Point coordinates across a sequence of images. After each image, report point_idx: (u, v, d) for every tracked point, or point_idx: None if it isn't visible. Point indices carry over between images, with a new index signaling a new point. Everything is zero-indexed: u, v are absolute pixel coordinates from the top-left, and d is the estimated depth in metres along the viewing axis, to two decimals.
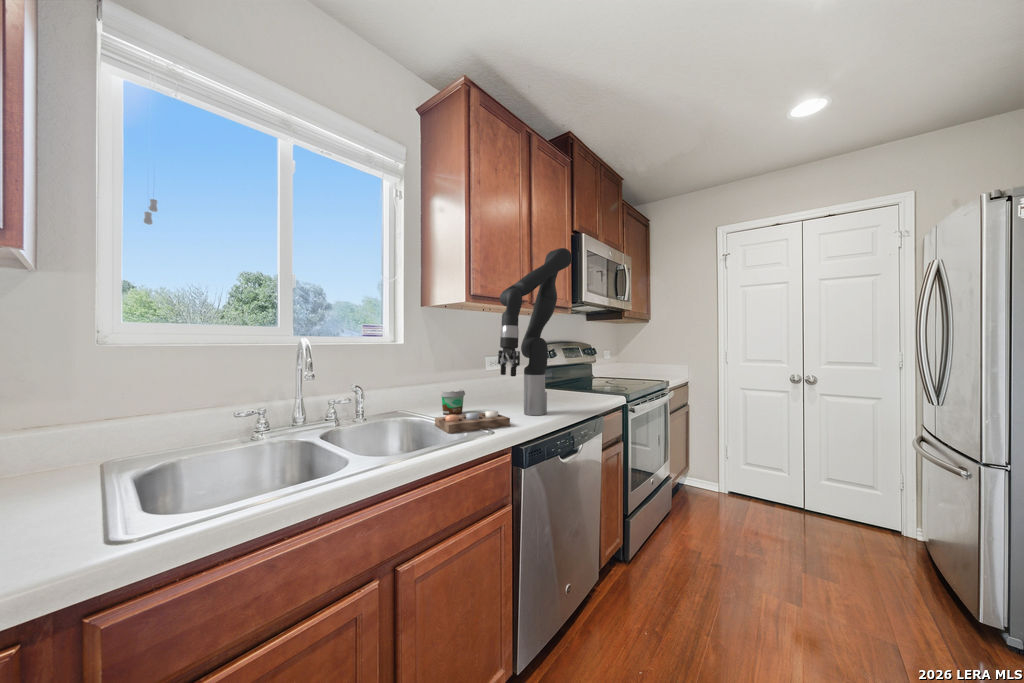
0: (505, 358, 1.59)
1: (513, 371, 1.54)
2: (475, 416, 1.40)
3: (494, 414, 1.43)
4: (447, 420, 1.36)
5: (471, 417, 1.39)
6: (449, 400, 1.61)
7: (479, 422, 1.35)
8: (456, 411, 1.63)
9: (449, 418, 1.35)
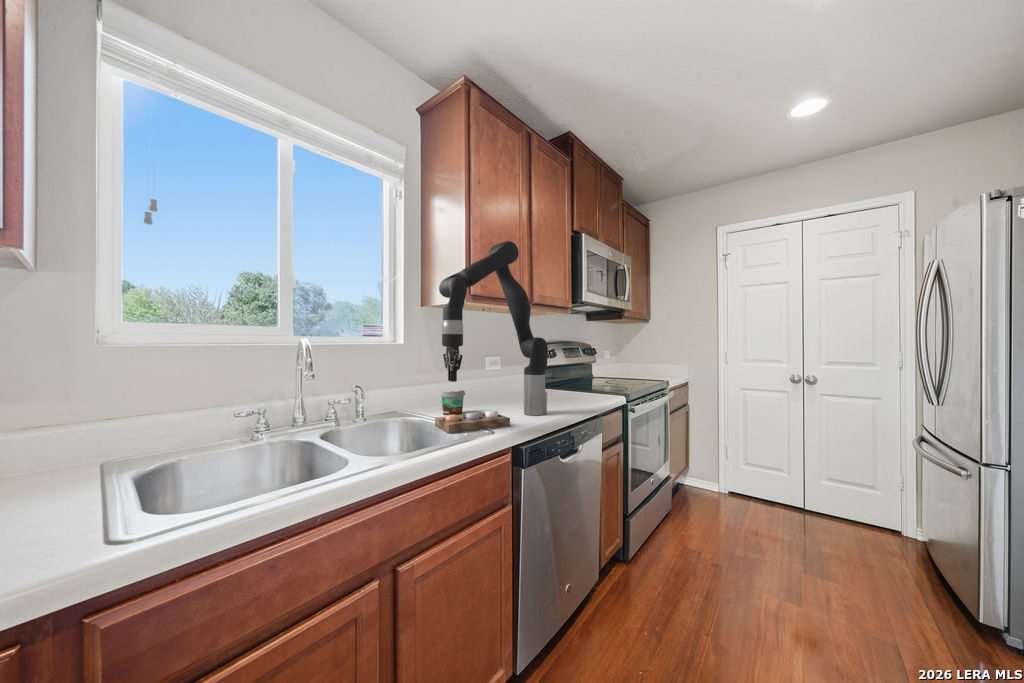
0: None
1: (453, 376, 1.35)
2: (475, 416, 1.40)
3: (494, 414, 1.43)
4: (447, 420, 1.36)
5: (471, 417, 1.39)
6: (449, 400, 1.61)
7: (479, 422, 1.35)
8: (456, 411, 1.63)
9: (449, 418, 1.35)
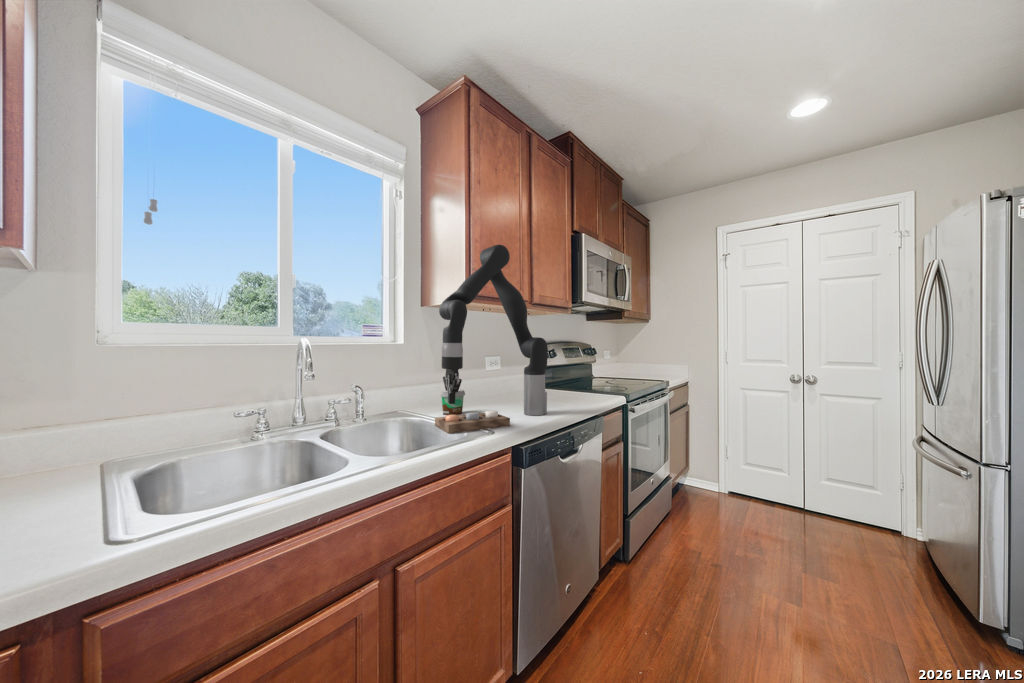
0: None
1: (451, 398, 1.36)
2: (475, 416, 1.40)
3: (494, 414, 1.43)
4: (447, 420, 1.36)
5: (471, 417, 1.39)
6: None
7: (479, 422, 1.35)
8: (456, 411, 1.63)
9: (449, 418, 1.35)
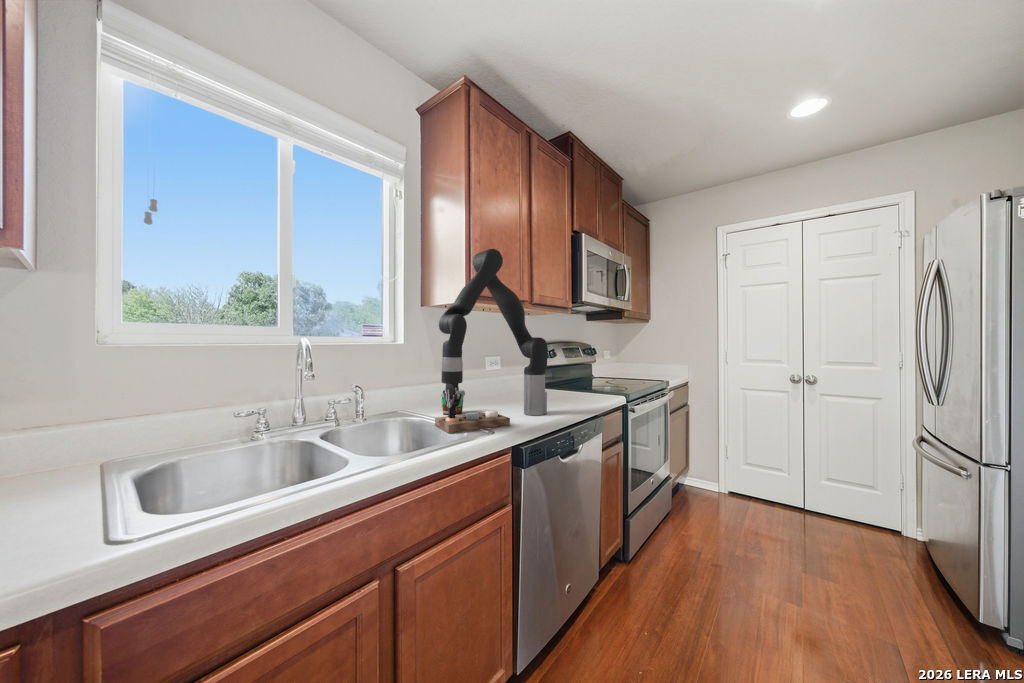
0: None
1: (451, 413, 1.36)
2: (475, 416, 1.40)
3: (494, 414, 1.43)
4: None
5: (471, 417, 1.39)
6: None
7: (479, 422, 1.35)
8: (456, 411, 1.63)
9: (449, 420, 1.35)
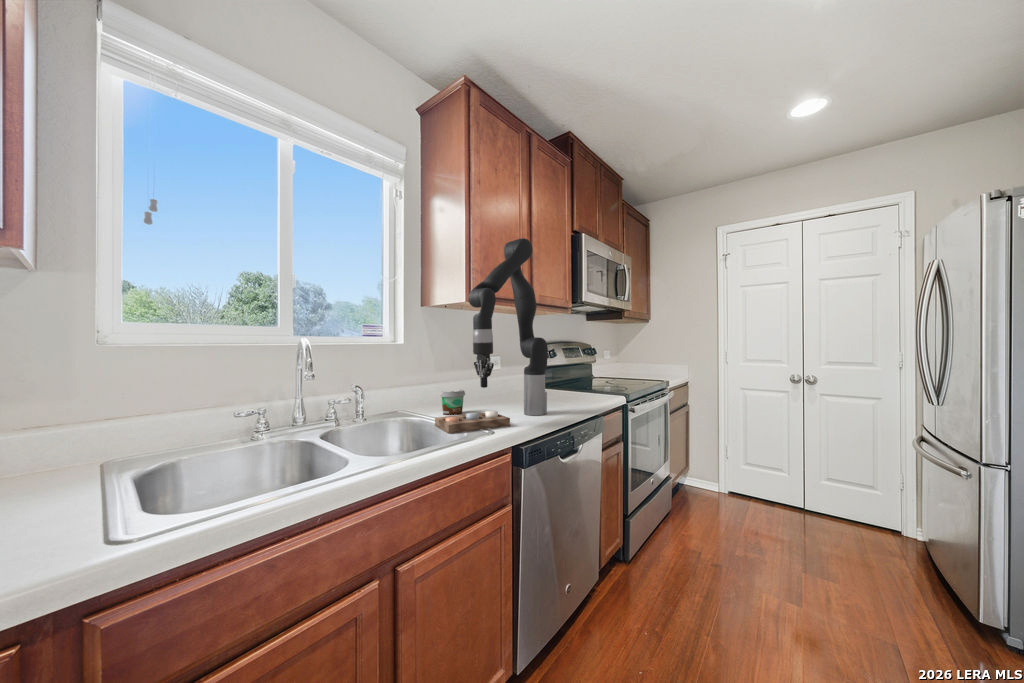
0: None
1: (484, 382, 1.43)
2: (475, 416, 1.40)
3: (494, 414, 1.43)
4: None
5: (471, 417, 1.39)
6: (449, 400, 1.61)
7: (479, 422, 1.35)
8: (456, 411, 1.63)
9: (449, 420, 1.35)
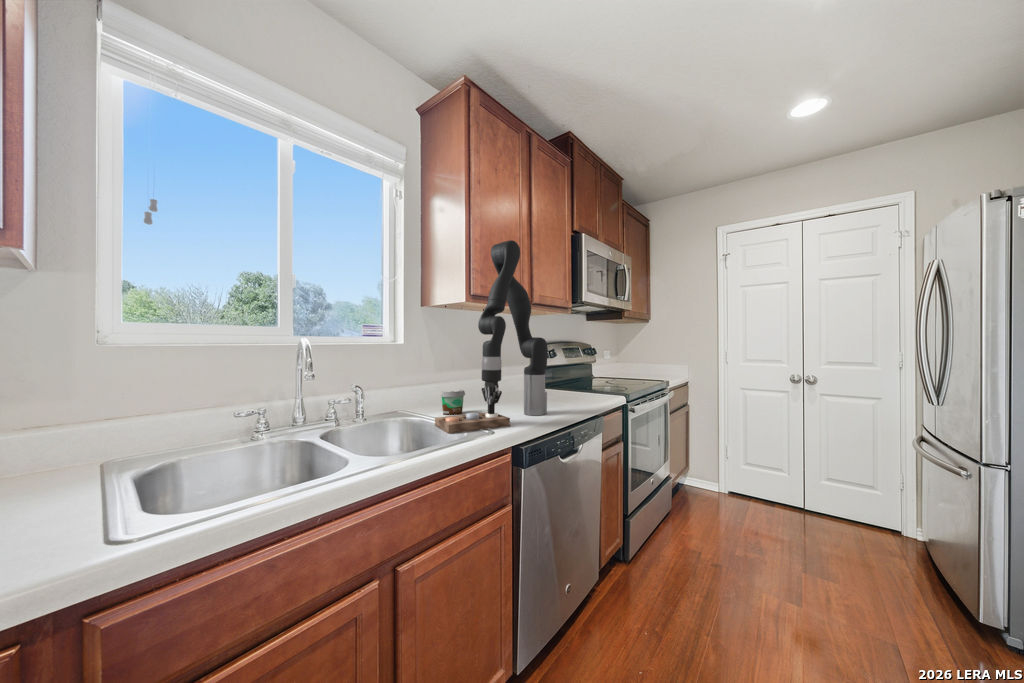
0: None
1: (491, 409, 1.44)
2: (475, 416, 1.40)
3: (494, 415, 1.43)
4: None
5: (471, 417, 1.39)
6: (449, 400, 1.61)
7: (479, 422, 1.35)
8: (456, 411, 1.63)
9: (449, 420, 1.35)
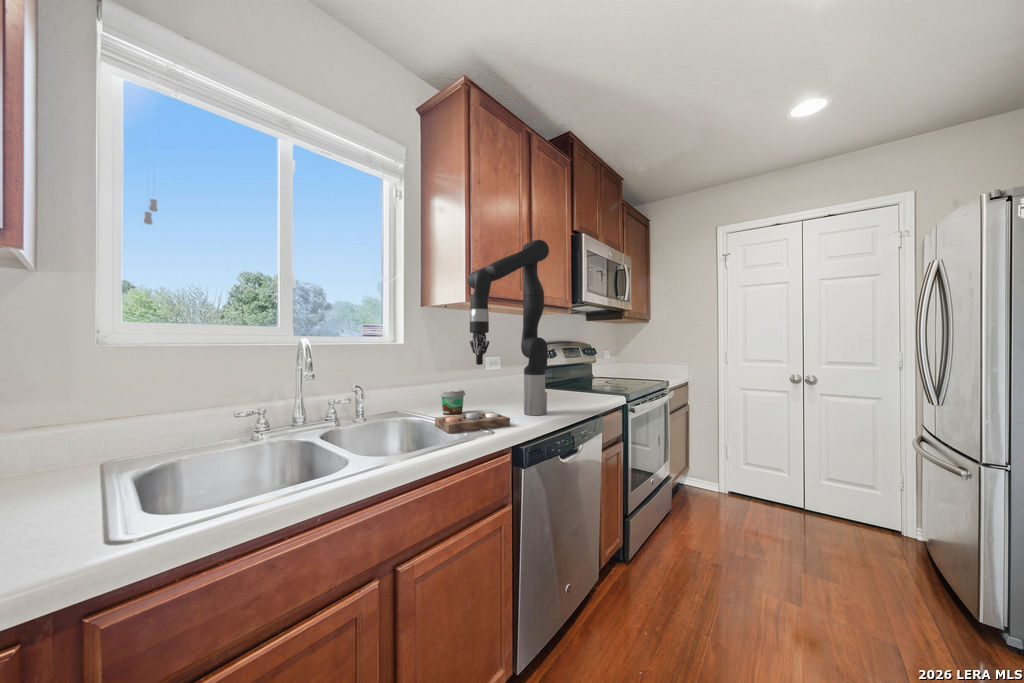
0: None
1: (479, 359, 1.50)
2: (475, 416, 1.40)
3: (494, 416, 1.43)
4: None
5: (471, 417, 1.39)
6: (449, 400, 1.61)
7: (479, 422, 1.35)
8: (456, 411, 1.63)
9: (449, 420, 1.35)
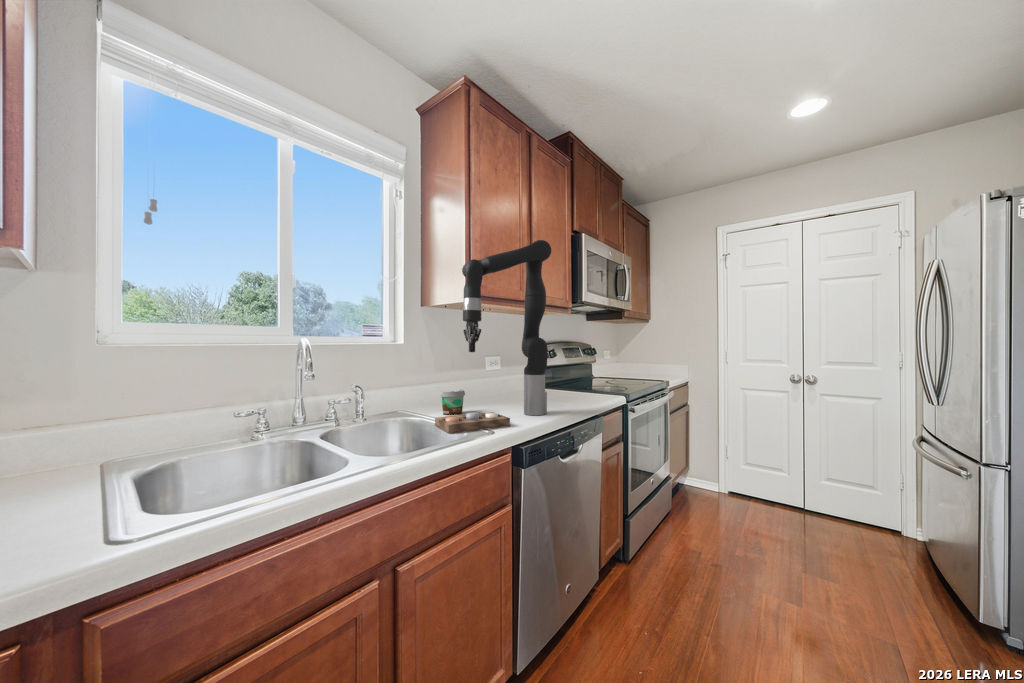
0: None
1: (472, 347, 1.54)
2: (475, 416, 1.40)
3: (494, 416, 1.43)
4: None
5: (471, 417, 1.39)
6: (449, 400, 1.61)
7: (479, 422, 1.35)
8: (456, 411, 1.63)
9: (449, 420, 1.35)
